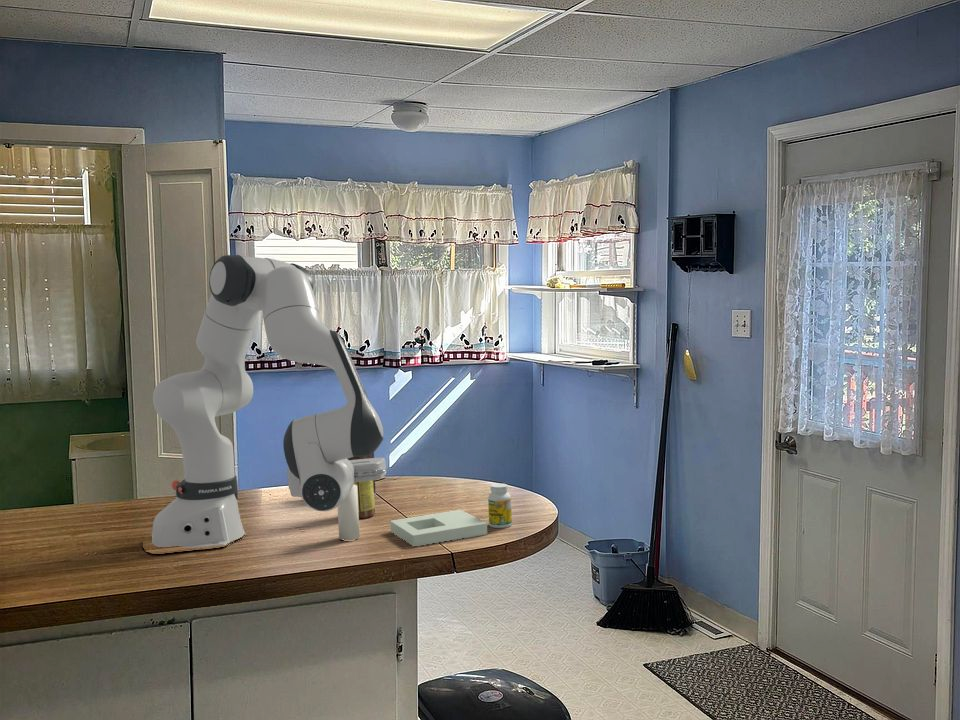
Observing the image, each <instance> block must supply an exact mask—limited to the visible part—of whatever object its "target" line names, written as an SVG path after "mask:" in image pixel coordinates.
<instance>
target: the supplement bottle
mask: <svg viewBox="0 0 960 720" xmlns="http://www.w3.org/2000/svg"><path fill="white" fill-rule="evenodd" d="M508 487H509V485H508V484H506V483H500V482H499V483H493V484H490V492H491V493H489V495H488V497H487V504H488V505H487V506H488V507H487V508H488V524H489V527H491V528H494V529H505V528H509V527H511V526H512V523H513V516H512V514H513V513H512V496H511V494H510V493H509V492H508V491H509V489H508Z"/></svg>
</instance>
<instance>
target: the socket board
mask: <svg viewBox="0 0 960 720" xmlns="http://www.w3.org/2000/svg"><path fill="white" fill-rule="evenodd" d="M389 524H390V533H391V534H393V533H394V534H393V535H395V536H396V535H397V536H396V537H398V536H399V537H400V538H399V537H398V538H399V539H401V538H402V539H403V540H402V539H401V540H402V541H404V540H405V541H406V543H407V542H408V543H410V544H411V545H412V547H413V546H418V547H420V546H419V545H424V546H427V545H426V544H429V545H433V544H432V543H435V544H440V543H439V542H441V543H444V541H447V542H451V541H450V540H452V541H457V539H458V540H462V538H464V539H469V538H474V537H480V536H486V535H488V523H487V522H485V521H484V520H483V519H482V520H481V519H480V518H477V517H475V516H474V515H472V514H470V513H467V512H466V511H464V510H462V509H456V510H450V511H443V512H436V513H431V514H424V515H418V516H413V517H406V518H399V519H393V520H390V521H389ZM405 541H404V542H405ZM408 543H407V544H408ZM410 544H409V545H410ZM411 545H410V546H411Z"/></svg>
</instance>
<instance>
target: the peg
mask: <svg viewBox="0 0 960 720" xmlns="http://www.w3.org/2000/svg"><path fill="white" fill-rule="evenodd" d="M337 520H338V521H337V523H338V524H337V525H338V539H339V538H340V539H344V540H353V539H357V538H359V537H360V518H359V514H358V491H357V485H353V487H352V489H351V490H350V492H349V494H348V496H347V497H346V499H345V500H344V501H343V502H342V503H341V504H340V505H339V506H338V507H337ZM359 539H360V538H359Z"/></svg>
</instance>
